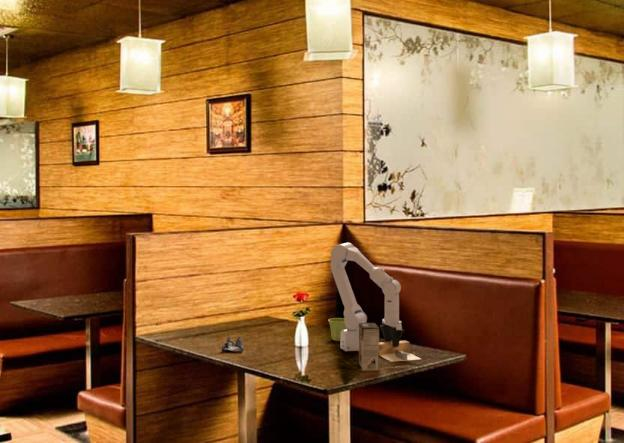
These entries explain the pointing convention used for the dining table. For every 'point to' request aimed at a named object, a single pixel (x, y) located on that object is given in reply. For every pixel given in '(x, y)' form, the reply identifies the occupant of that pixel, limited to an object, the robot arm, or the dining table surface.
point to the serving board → (393, 358)
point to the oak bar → (389, 349)
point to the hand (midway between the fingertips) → (391, 344)
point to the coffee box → (368, 346)
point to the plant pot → (337, 327)
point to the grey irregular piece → (233, 345)
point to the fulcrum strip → (400, 354)
